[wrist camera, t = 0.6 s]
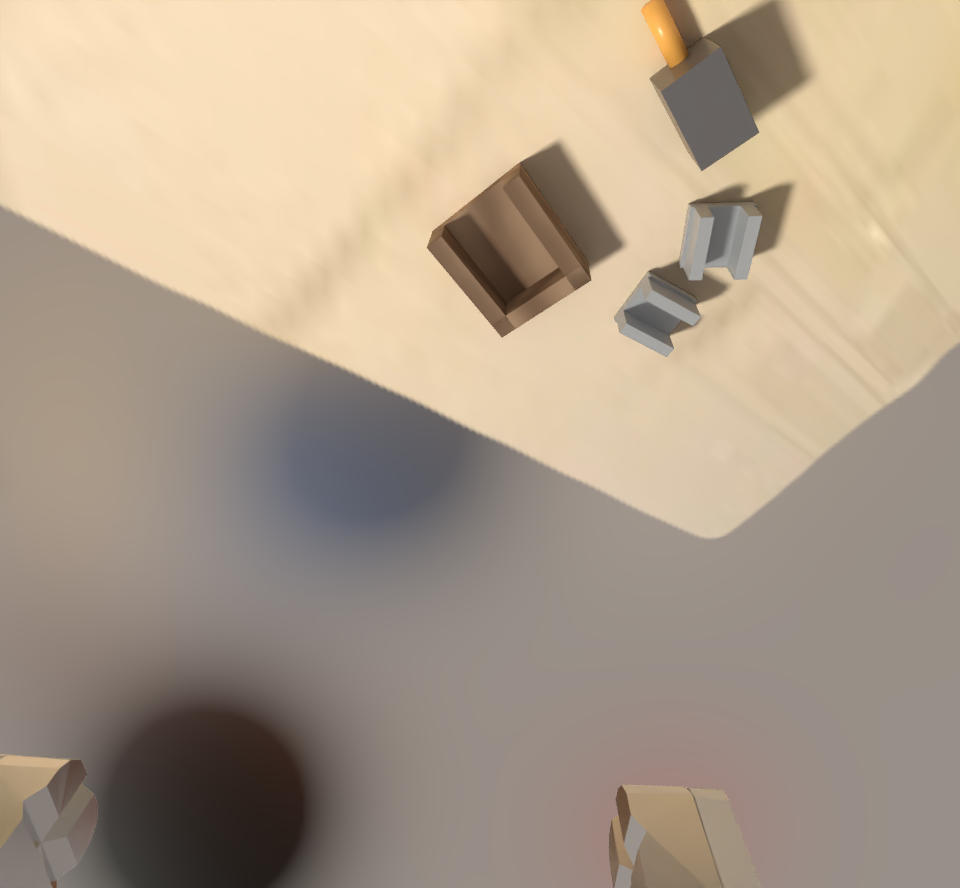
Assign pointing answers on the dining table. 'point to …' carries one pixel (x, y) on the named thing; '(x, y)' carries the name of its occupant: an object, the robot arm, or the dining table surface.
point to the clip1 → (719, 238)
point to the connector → (698, 91)
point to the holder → (510, 252)
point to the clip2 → (656, 313)
